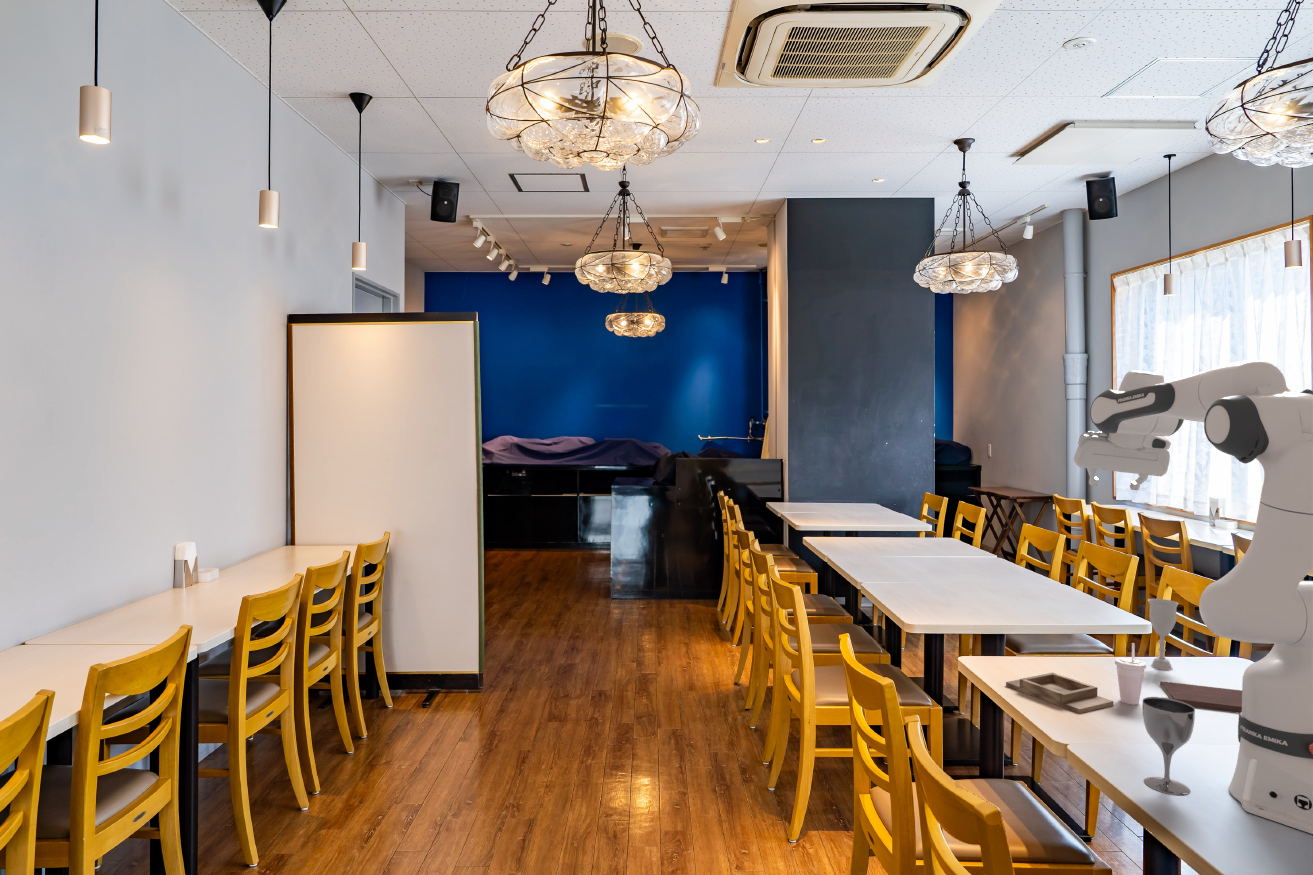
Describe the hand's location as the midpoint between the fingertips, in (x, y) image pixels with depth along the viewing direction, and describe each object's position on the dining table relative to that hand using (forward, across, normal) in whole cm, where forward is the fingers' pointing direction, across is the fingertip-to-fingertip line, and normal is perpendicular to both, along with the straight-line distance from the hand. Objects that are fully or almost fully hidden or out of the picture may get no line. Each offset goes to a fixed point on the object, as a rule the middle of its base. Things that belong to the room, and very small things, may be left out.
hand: (1113, 486), depth 190 cm
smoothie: (+45, +6, -24) cm, 52 cm away
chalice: (+53, +26, +5) cm, 59 cm away
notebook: (+45, +27, -19) cm, 56 cm away
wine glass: (+32, -5, -68) cm, 75 cm away
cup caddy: (+47, -9, -24) cm, 53 cm away
